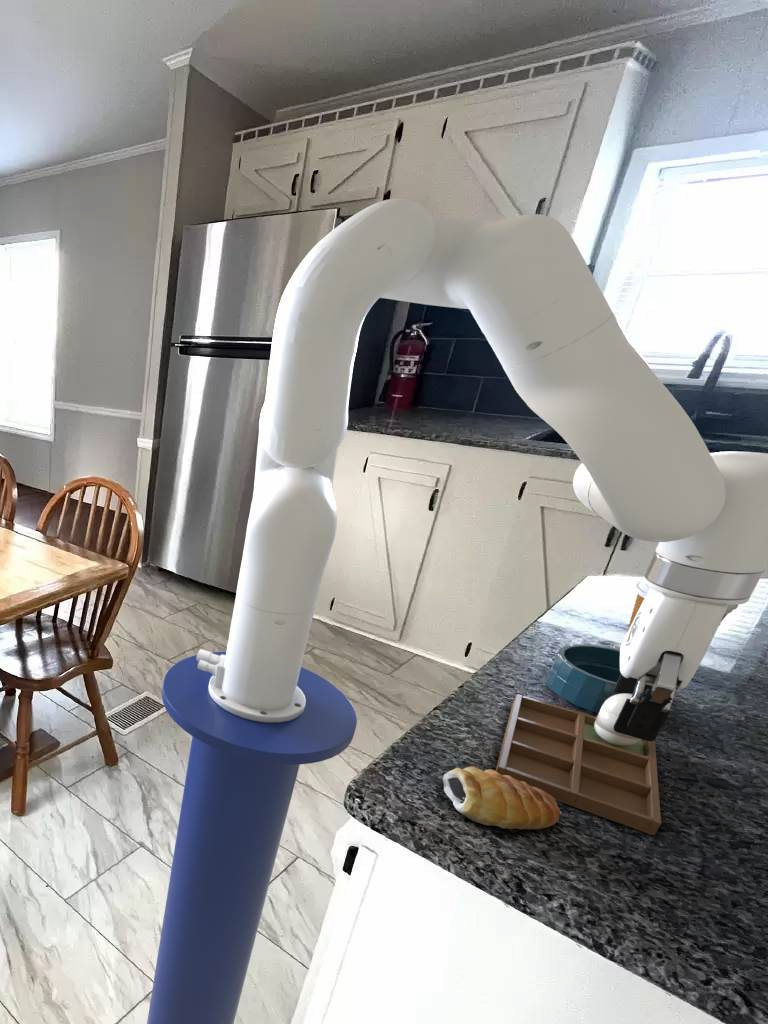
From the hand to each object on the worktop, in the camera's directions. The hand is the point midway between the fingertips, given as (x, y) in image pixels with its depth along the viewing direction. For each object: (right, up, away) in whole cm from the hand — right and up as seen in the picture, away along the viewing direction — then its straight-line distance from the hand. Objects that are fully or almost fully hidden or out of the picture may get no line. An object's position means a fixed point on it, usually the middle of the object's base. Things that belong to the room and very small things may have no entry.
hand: (632, 714), depth 72 cm
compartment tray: (-7, -5, 0) cm, 8 cm away
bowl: (+7, 0, +11) cm, 13 cm away
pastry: (-21, -9, -6) cm, 24 cm away
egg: (0, -4, +2) cm, 4 cm away
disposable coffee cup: (+22, +4, +18) cm, 28 cm away
